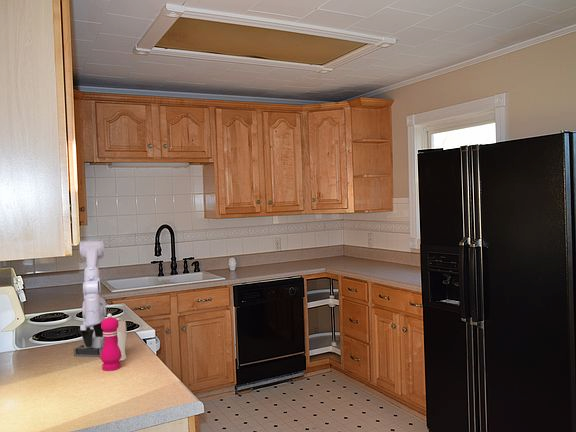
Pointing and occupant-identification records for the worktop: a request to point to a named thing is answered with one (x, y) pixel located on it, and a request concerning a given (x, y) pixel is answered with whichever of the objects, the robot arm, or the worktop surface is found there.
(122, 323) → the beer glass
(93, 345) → the panel
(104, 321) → the pepper mill
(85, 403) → the worktop surface
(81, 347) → the rack
